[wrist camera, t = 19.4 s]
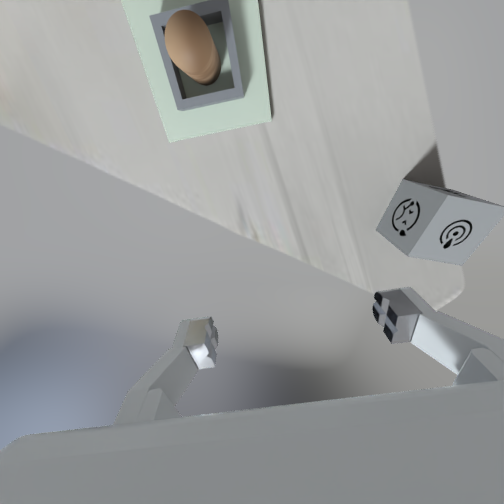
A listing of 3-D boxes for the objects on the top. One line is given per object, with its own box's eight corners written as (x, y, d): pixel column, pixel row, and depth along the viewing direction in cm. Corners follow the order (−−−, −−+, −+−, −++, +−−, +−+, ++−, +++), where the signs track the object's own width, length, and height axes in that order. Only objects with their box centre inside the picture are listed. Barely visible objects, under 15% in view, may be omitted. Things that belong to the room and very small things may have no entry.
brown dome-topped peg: (193, 88, 30) (174, 76, 22) (182, 45, 28) (157, 15, 20) (224, 81, 30) (216, 67, 22) (216, 37, 27) (204, 4, 20)
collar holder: (171, 142, 34) (162, 144, 31) (122, -4, 26) (103, -23, 23) (271, 121, 33) (273, 120, 30) (252, -39, 25) (253, -65, 22)
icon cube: (420, 238, 44) (462, 265, 36) (375, 229, 43) (407, 256, 34) (452, 189, 39) (509, 208, 31) (402, 178, 38) (448, 195, 29)
